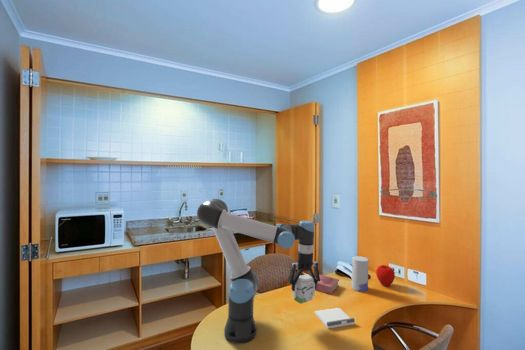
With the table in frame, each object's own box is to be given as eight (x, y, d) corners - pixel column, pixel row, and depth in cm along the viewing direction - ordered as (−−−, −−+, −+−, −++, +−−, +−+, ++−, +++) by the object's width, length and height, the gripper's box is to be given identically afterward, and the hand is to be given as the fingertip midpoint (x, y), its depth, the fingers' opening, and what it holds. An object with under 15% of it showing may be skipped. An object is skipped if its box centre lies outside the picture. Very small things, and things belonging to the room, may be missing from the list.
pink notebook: (309, 289, 172) (309, 281, 172) (318, 281, 185) (318, 274, 184) (330, 295, 164) (331, 287, 164) (338, 286, 176) (339, 279, 176)
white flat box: (328, 328, 129) (328, 323, 129) (314, 313, 142) (314, 308, 142) (354, 324, 133) (354, 319, 133) (338, 309, 147) (339, 304, 146)
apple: (372, 281, 184) (372, 262, 184) (387, 281, 186) (388, 262, 185) (381, 289, 173) (382, 269, 172) (398, 289, 174) (399, 269, 173)
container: (354, 283, 180) (355, 254, 180) (369, 287, 175) (370, 258, 174) (349, 289, 172) (350, 258, 172) (365, 293, 167) (366, 262, 166)
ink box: (300, 304, 129) (301, 280, 129) (293, 299, 134) (294, 276, 133) (313, 300, 134) (314, 277, 134) (306, 295, 138) (307, 273, 138)
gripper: (288, 255, 127) (285, 301, 127) (328, 253, 133) (326, 297, 133) (282, 250, 134) (280, 294, 134) (321, 248, 140) (319, 290, 141)
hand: (303, 295), depth 134 cm, fingers closed on ink box, 9 cm apart
